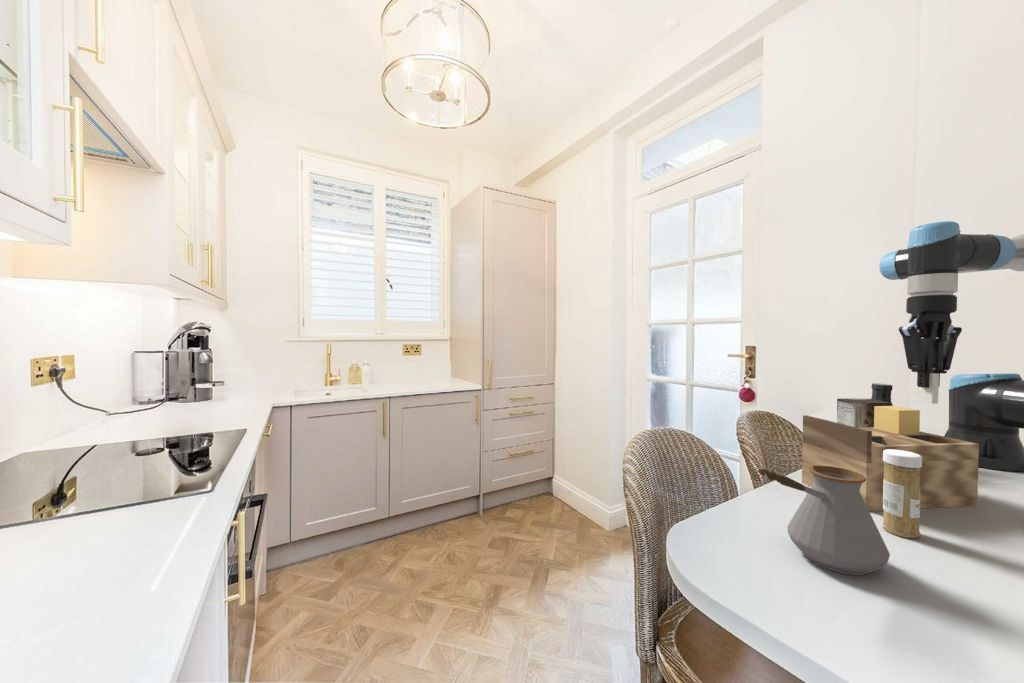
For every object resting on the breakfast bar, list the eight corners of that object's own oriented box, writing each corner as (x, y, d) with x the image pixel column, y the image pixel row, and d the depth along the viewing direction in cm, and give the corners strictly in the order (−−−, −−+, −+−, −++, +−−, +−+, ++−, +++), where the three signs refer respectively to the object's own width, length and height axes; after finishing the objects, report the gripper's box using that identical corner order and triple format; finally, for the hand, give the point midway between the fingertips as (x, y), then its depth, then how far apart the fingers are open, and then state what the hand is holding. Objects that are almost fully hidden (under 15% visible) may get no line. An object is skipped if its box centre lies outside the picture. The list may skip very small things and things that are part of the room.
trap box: (897, 478, 88) (899, 413, 88) (977, 505, 74) (979, 428, 74) (801, 482, 86) (803, 415, 86) (865, 511, 72) (867, 431, 72)
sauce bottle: (868, 458, 102) (869, 384, 102) (857, 452, 108) (859, 381, 108) (900, 462, 100) (902, 385, 99) (888, 455, 106) (889, 383, 105)
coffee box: (871, 458, 103) (872, 398, 103) (892, 466, 97) (894, 402, 96) (834, 457, 104) (835, 397, 104) (853, 465, 97) (854, 401, 97)
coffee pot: (820, 533, 64) (821, 443, 64) (909, 574, 53) (912, 466, 53) (719, 556, 57) (721, 456, 57) (798, 609, 46) (800, 485, 46)
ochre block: (893, 427, 87) (894, 405, 87) (919, 433, 82) (919, 410, 82) (873, 428, 86) (874, 406, 86) (898, 434, 81) (899, 410, 81)
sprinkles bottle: (927, 541, 61) (929, 457, 61) (892, 536, 63) (893, 455, 63) (908, 527, 66) (910, 449, 66) (875, 523, 67) (876, 447, 67)
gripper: (936, 297, 89) (933, 399, 89) (886, 296, 87) (883, 399, 88) (979, 294, 81) (975, 405, 82) (924, 292, 80) (921, 405, 80)
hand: (927, 402), depth 85 cm, fingers closed
